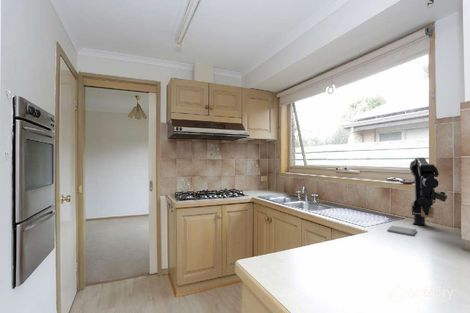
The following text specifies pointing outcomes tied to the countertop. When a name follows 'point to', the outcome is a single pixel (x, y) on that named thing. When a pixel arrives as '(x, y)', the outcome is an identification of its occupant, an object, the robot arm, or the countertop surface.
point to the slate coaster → (402, 230)
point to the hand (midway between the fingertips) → (427, 214)
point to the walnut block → (431, 213)
